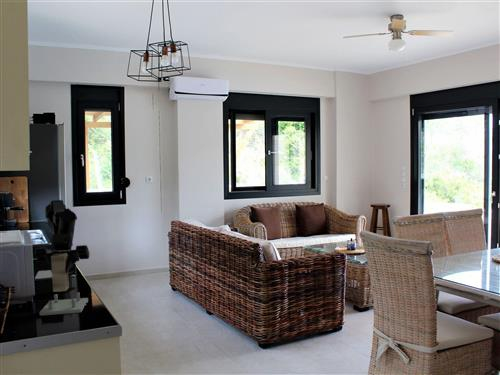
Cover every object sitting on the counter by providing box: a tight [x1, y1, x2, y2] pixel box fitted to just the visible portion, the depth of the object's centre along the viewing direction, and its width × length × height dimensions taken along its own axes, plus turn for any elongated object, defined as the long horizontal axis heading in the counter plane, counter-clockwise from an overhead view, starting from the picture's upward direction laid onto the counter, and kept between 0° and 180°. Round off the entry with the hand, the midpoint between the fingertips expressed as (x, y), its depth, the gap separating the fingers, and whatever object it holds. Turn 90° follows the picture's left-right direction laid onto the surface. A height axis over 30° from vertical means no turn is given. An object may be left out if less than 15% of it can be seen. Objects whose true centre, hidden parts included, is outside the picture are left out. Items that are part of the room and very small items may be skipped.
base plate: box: [39, 292, 89, 316], centre depth 176 cm, size 14×14×4 cm
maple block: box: [51, 253, 69, 293], centre depth 175 cm, size 4×4×13 cm
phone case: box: [34, 269, 52, 282], centre depth 227 cm, size 9×2×16 cm
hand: (59, 272), depth 174 cm, fingers closed on maple block, 4 cm apart
